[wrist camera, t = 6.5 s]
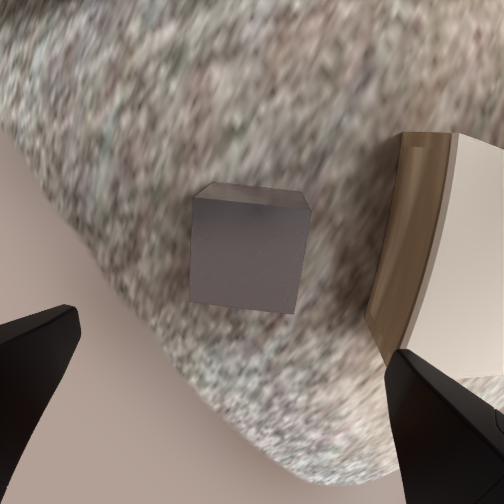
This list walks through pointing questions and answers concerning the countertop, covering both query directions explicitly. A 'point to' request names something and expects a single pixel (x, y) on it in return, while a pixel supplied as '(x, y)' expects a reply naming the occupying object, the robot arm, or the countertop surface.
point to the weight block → (248, 247)
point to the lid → (465, 269)
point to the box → (408, 237)
